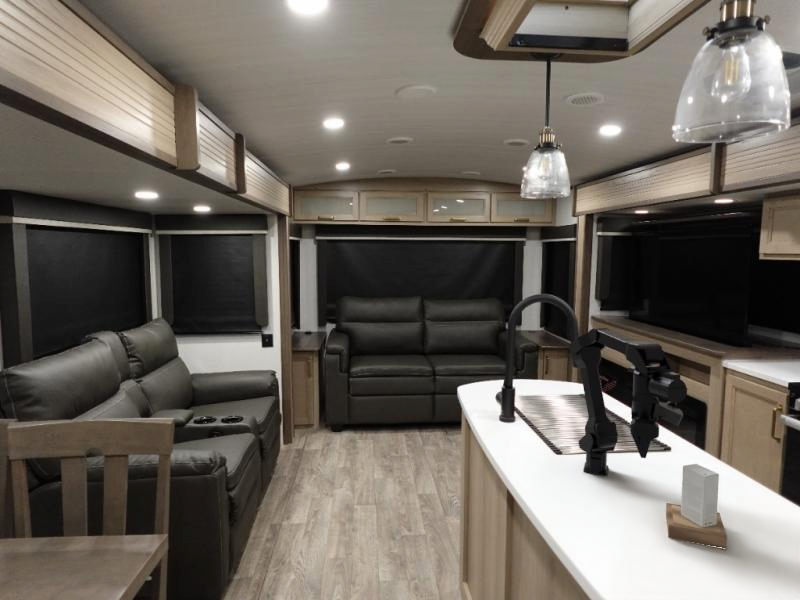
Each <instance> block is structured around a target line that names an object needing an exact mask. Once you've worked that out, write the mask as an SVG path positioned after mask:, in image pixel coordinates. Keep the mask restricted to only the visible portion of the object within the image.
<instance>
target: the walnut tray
mask: <svg viewBox="0 0 800 600" xmlns="http://www.w3.org/2000/svg"><path fill="white" fill-rule="evenodd" d="M665 506H666V507H665V517H666V526H667V535H668V537H667V538H670V539H675V540H678V541H682V540H683V542H687V541H688V543H692V542H694V543H693V544H696V543H699V544H698V545H701V544H704V545H703V546H706V545H710V546H716V547H722V548H726V549H727V541H728V535H727V533H726V528H725V527H724V526H725V525H724V523H723V519H722V516H721V513H720V512H718V511H717V524H716V525H713V526H708V527H704V528H702V527H701V526H699V525H697V524H696V523H694V522H692V521H690V520H689V519H687V518H685V517H684V516H682V515H681V504H675V503H669V502H666V505H665ZM710 546H709V547H710Z"/></svg>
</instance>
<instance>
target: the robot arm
mask: <svg viewBox="0 0 800 600" xmlns="http://www.w3.org/2000/svg"><path fill="white" fill-rule="evenodd" d="M569 346H570V347H569V350H570V351H569V352H570V354H571V358H572V360H573V362H574V363H575V364H576V366H577V367H578V368H579V370H580V375H581V381H582V387H583V392H584V398H585V399H584V400H585V402H586V403H585V404H586V409H587V415H588V418H587V422H586V423H585V427H584V435H583V436H582V437H581V438H580V439H579V440H578V446H579V449H580V450H582V451H583V452H585V462H584V465H583V469H582V470H583V472H585V473H590V474H595V475H601V476H608V472H609V466H608V464H607V462H608V460H607V459H608V458H607V457H608V452H614V450H615V449H616V445H617V443H618V440H619V439H618V437H619V434H618V430H617V423H616V422H615V421H611V419H610V418H609V417H608V416H607V410H606V405H605V400H604V394H603V390H602V383H601V378H600V374H599V368H598V367H599V364H600V362H601V360H602V351H603V350H604V349H605V348H606V347H607V348H609V349H612V350H613V351H616V352H617V353H620V354H622V355H624V356H625V359H626V361H627V362H629V363H630V364H631V366H629V367H628V368H627V371H628V372H630V373H633V377H632V379H633V381H632V382H633V383H632V405H631V411H630V412H631V413H630V414H631V421H630V430H629V431H630V434H631V437H632V439H633V441H634V443H635V444H634V445H635V447H636V449H637V451H638V454H639V457H640V458H641V459H647V455H648V452H649V449H650V445H651V443H652V441H653V440H655V439H657V438H659V437H660V426H659V424H658V422H657V421H659V420H660V419H661V420H663V421H666V422H667V423H670V424H671V425H673V426H674V427H678V426H679V425H680V423H681V420H682V419H683V417H684V413H683V410H681V409H680V408H678V405H677V404H679V403H681V402H683V400H685V398H686V397H687V394H688V387H687V385H686V383H685V381H683V380H682V379H681V376H682V375H681V374H679V373H673V372H674V371H673V368H672V366H671V364H670V362H669V360H668V357H667V355H666V354H665V352H664V350H663V346H662V345H661V344H659V343H657V342H650V341H641V340H634V339H632V338H630V337H627V336H625V335H623V334H620V333H619V332H616V331H613V330H610V328H608V327H593V328H591V329H590V330H589V331H587V332H585V334H582V335H580V336H578V337H577V338H575V339H574V340H572V342H571V344H570V345H569ZM660 399H662V400H664V401H667V402H661V401H660Z"/></svg>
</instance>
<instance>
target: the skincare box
mask: <svg viewBox="0 0 800 600" xmlns="http://www.w3.org/2000/svg"><path fill="white" fill-rule="evenodd" d="M719 480H720V474H719V473H718V472H716V471H713V470H711V469H709V468H708V467H704V466H702V465H700V464H698V463H694V464H693V463H692V464H686V465H683V466H682V480H681V481H682V482H681V483H682V484H681V502H680V503H681V504H680V505H681V515H682V516H684V517H685V518H687V519H689V520H690V521H692V522H694V523H696V524H697V525H699V526H701V527H702V528H704V527H708V526H713V525H716V524H717V512H718V503H719V502H718V501H719V500H718V498H719Z"/></svg>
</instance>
